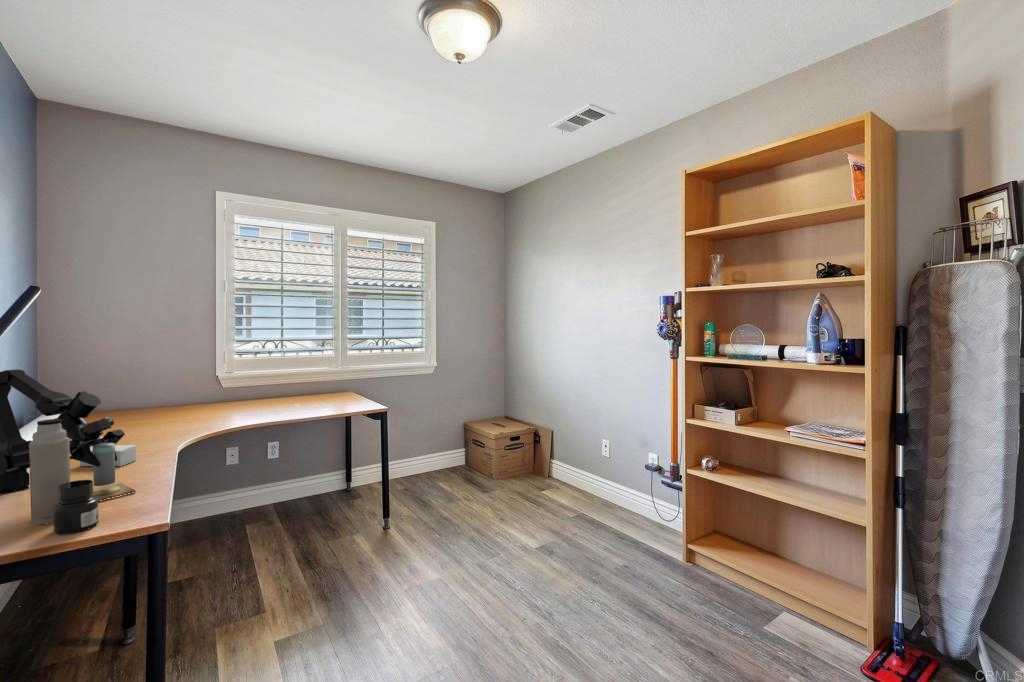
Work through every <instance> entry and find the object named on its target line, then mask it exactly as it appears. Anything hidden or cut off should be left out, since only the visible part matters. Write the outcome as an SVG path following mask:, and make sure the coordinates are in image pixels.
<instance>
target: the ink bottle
mask: <svg viewBox="0 0 1024 682" xmlns="http://www.w3.org/2000/svg"><path fill="white" fill-rule="evenodd" d="M93 489H94V480H91V479H80V480H73V481H70V482H68V483H65V484H62V485H60V486H59V487H58V498H59V501H60V502H59V503H58V504H57V505H56V506H55V507H54V509H53V520H54V523H53V532H54V533H55V534H56V535H68V534H69V535H70V534H75V532H76V533H79V531H80V532H84V531H87V530H89V529H88V528H90V529H92V528H94V527H95V526H97V525H98V524H99V518H100V517H99V502H98V500H97V499H96V498H94V497H93V496H92V494H93ZM97 523H98V524H97ZM96 524H97V525H96ZM93 526H94V527H93ZM91 527H92V528H91ZM86 529H87V530H86ZM83 530H84V531H83Z"/></svg>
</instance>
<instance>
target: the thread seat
mask: <svg viewBox="0 0 1024 682" xmlns="http://www.w3.org/2000/svg"><path fill="white" fill-rule="evenodd" d="M132 492H135V493H136V489H134V488H132V487H130V486H128V485H126V484H125V483H122V482H118V483H115V484H114V483H113V484H110V485H105V486H99V487H96V488H93V494H92V496H93V497H94V498H96V499H97V500H98V501H100V500H104V499H107V498H112V497H116V496H120V495H124V494H128V493H132Z"/></svg>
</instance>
